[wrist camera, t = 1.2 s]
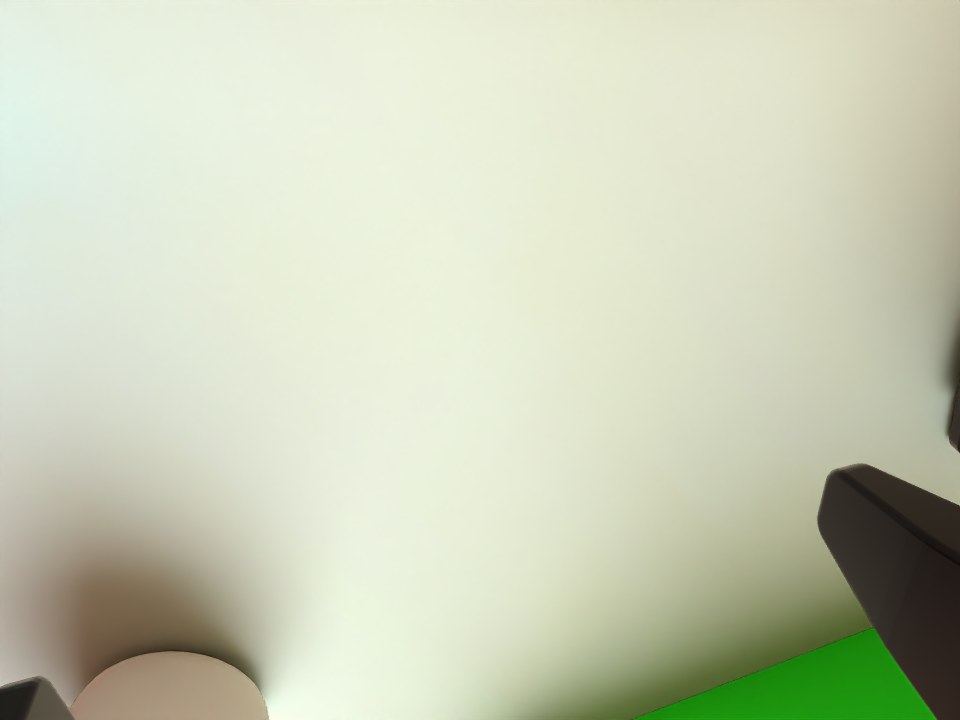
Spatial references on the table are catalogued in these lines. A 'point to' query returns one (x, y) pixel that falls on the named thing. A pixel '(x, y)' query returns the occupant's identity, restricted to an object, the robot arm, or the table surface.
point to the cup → (170, 690)
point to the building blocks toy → (813, 689)
